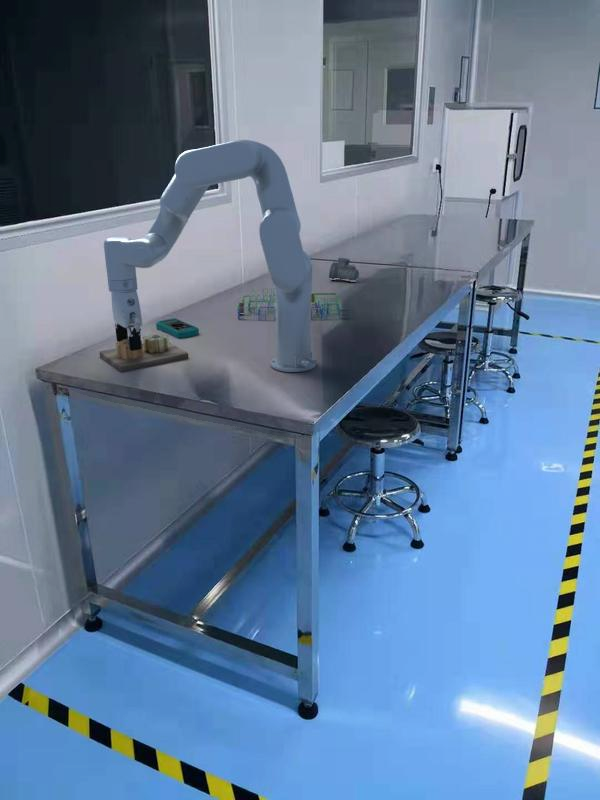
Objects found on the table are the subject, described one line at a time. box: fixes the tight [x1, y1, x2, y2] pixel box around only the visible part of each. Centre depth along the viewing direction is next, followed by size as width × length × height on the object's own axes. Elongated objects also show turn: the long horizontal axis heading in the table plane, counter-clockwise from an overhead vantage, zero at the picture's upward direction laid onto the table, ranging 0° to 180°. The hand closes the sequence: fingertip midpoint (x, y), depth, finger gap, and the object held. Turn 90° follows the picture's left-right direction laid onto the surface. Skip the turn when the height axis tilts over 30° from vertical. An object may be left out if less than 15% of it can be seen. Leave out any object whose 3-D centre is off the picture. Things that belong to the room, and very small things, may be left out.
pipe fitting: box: [328, 257, 360, 280], centre depth 277 cm, size 12×8×10 cm
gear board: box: [99, 333, 189, 373], centre depth 183 cm, size 16×20×6 cm
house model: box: [237, 288, 341, 321], centre depth 234 cm, size 35×30×5 cm
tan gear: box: [115, 339, 143, 359], centre depth 180 cm, size 7×7×4 cm
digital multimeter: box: [155, 317, 200, 339], centre depth 208 cm, size 8×15×3 cm, turn 39°
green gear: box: [142, 332, 170, 353], centre depth 185 cm, size 7×7×4 cm
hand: (129, 345), depth 180 cm, fingers open, 9 cm apart
